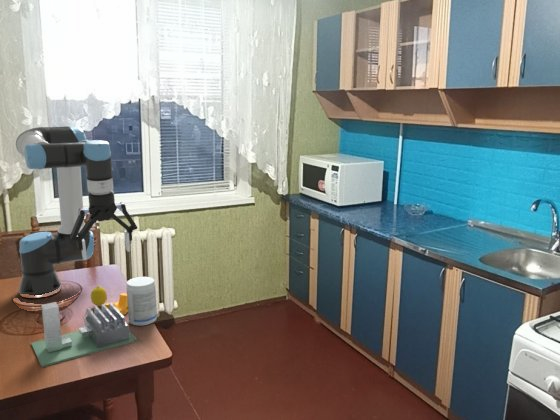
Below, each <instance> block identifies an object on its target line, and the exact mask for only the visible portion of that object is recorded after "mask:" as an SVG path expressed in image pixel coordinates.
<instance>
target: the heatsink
mask: <svg viewBox="0 0 560 420" xmlns="http://www.w3.org/2000/svg"><path fill="white" fill-rule="evenodd" d="M108 303H109V309H108V308H107V307H106V306H105V303H104V304H101V306H100V307H101V309H100V308H99V306H97V305H93V310H94V312H93V310H92V309H91V308H90V307H88V306H87V307H86V316H83V320H84V321H83V322H84V324H83V325H84V326H80V327H78V331H79V333H80V334H81V336H82V337H85V336H89V337H90V339H91V340H92V341H93V343H94V344H95V346H96V347H97V348H101V347H104V346H108V345H112V344H115V343H119V342H122V341H126V340H129V331H130V327H129V324H128V323H127V322H126V318H125V317H126V316H124V315H122V314H121V313H120V312H119V311H118V309H117V308H116V307H115V306H114V305H113V304H112V303H113V302H111V301H110V302H108Z"/></svg>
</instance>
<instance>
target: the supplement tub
mask: <svg viewBox="0 0 560 420" xmlns="http://www.w3.org/2000/svg"><path fill="white" fill-rule="evenodd" d="M156 293H157V292H156V282H155V279H154V278H153V277H150V276H138V277H137V276H136V277H133V278H130V279H129V280H127V281H126V294H127V301H128V312H127V313H128V315H127V316H128V322H129V323H130V324H131V325H134V326H147V325H150V324H152V323H154V322H156V320H157V318H158V314H157V313H158V311H157V309H158V308H157V296H156V295H157V294H156Z"/></svg>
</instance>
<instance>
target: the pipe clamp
mask: <svg viewBox="0 0 560 420" xmlns="http://www.w3.org/2000/svg"><path fill="white" fill-rule="evenodd" d="M111 303H112V304H113V305H114V306H115V307H116V308H117V309H118V311H119V312H120V313H121V314H122V315H123V316H124V315H126V314H127V313H128V301H127V292H125V293H124V292H122V293H120V294H119V299H118V301H116V302H111ZM104 305H105V306H106V307H107V308H108V309H109V302H107V303H106V302H105V303H104Z"/></svg>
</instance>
